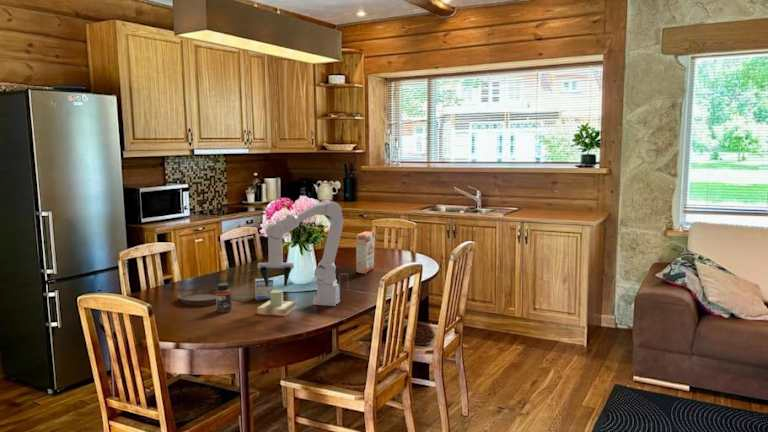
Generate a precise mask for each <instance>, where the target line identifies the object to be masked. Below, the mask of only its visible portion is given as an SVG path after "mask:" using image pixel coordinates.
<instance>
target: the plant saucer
mask: <svg viewBox="0 0 768 432" xmlns="http://www.w3.org/2000/svg"><path fill="white" fill-rule="evenodd" d="M217 289H218V287H217V288H215V287H202V288H201V287H200V288H193V289H187V290H184V291H180V292H179V293H178V294H177V298H178V299H179V300H180V302H182V304H185V305H188V306H208V305H214V304H216V290H217Z"/></svg>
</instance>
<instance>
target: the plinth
mask: <svg viewBox="0 0 768 432" xmlns="http://www.w3.org/2000/svg"><path fill="white" fill-rule="evenodd" d="M295 309H297V301H287V300H283V304H282V306H270V299H267V301H266V302H264V303H262V304H261V305H259V306H257V308H256V314H257V315H267V316H279V317H280V316H281V317H286V316H287V315H288V314H290V313H291V312H292V311H293V310H295Z"/></svg>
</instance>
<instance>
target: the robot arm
mask: <svg viewBox="0 0 768 432" xmlns="http://www.w3.org/2000/svg"><path fill="white" fill-rule="evenodd" d="M342 211H343V209H342V207H341V206H340V204H339V203H338V202H335V201H331V200H326V199H324V200H321V201H319V202H317V203H315V204H313V205H312V206H310V207H308V208H306V209H305V210H303V211H302V212H300V213H298V214H296V215H295V214H286V215H285V217H284V218H282V219H280V220H279V219H277V220H276V221H275V222H272V223H270V224H268V226H266V229H265V233H266V235H267V236H268V237H267V246H268V249H267V250H268V261H267V262H258V263H257V269H259V272H260V274H261V276H262V279H264V281H265V284H266V286H268V284H269V281H268V278H269V269H283V277H284V278H283V280H284V281H283V284H284V285H283V286H284V287H287V286H288V280H289V276H290V274H291V271H292V270H293V269H294V268H295V262H284V256H283V248H284V247H283V237H284V235H285V234H287V233H289V232H290V231H292V230H294V229H296V228H298V227H299V225H300V223H302V222H304V221H307V220H308V219H310V218H312V217H315V216H319V215H320V216H324V217H325V218H326V219H327V221H328V222H329V223H330V226H329V229H328V234H327V237H326V242H325V246H324V250H323V255H322V259H321V260H320V261H319V262H318V265H317V266H316V268H315V270H314V277H315V278H316V301H315V302H314V303H313V305H315V306H328V307H330V306H331V307H335V306H337V305H338V304H339V303H340V302H341V297H340V296H341V295H340V294H341V293H340V284H339V283H336V282H335V281H336V279H337V278H336V277H337V275H336V268H337V267H336V264H335V261H336V256H337V252H338V248H339V245H340V241H341V235H342V232H343V228H344V223H345V222H344V221H345V220H344V217H343V212H342ZM336 304H337V305H336Z"/></svg>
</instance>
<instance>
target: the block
mask: <svg viewBox="0 0 768 432" xmlns="http://www.w3.org/2000/svg"><path fill="white" fill-rule="evenodd" d="M269 300H270V306H282V304H283V301H284V289H273V290H272V291H271V292H270V299H269Z"/></svg>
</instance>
